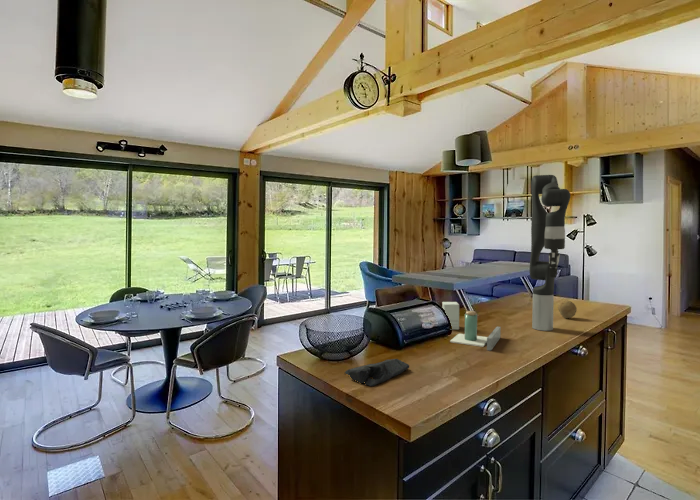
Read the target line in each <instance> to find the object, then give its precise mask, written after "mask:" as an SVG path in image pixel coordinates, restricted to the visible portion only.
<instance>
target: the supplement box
mask: <svg viewBox="0 0 700 500" xmlns="http://www.w3.org/2000/svg"><path fill="white" fill-rule="evenodd" d="M441 304H442V306H441V308H443V309H444V310H445V313H446V315H447V316H448V318H449V320H450V323H451V326H452V329H451V330H460V304H459V303H458V302H457V301H442V302H441Z"/></svg>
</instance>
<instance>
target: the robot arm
mask: <svg viewBox="0 0 700 500" xmlns="http://www.w3.org/2000/svg"><path fill="white" fill-rule="evenodd" d="M530 184H531V185H530V189H531V191H530V192H531V223H530V224H531V227H530V228H531V230H530V234H531V235H530V237H531V239H530V241H531V242H530V243H531V247H530V249H531V250H530V258H529V259H530V260H529V277H530V279H531V280H538V281H545V282H544V284H542V285H539V286H536V287H535V286H534V287H533V288H532V311H531V314H532V318H531V319H532V320H531V321H532V322H531V323H532V325H531V326H532V327H531V328H532V329H533V330H538V331H545V332H546V331H553V330H554V305H555V303H554V302H555V301H554V298H555V297H554V294H555V293H554V291H555V279H556V278H557V275H558V266H559V262H560V256H561V253H559V250H564V249H565V248H566V240H565V239H566V228H565V221H566V213H567V209H568V206H569V204H570V200H571V192H570V190H568V189H566V188H560V187H559V183H558V179H557V177H556V175H555V174H541V175H540V174H538V175H533V176H532V177H531V182H530ZM539 195H541V198H540V196H539ZM544 206H545V207H559V208H558V209H557V210H555V211H551V212H550V211H549V212H547V210H546V209H545V208H544ZM543 249H545V250H546V249H547V250H550V252H549V253H548V261H542V260H541V261H540V256H541V252H542V251H543Z"/></svg>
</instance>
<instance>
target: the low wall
mask: <svg viewBox="0 0 700 500" xmlns="http://www.w3.org/2000/svg"><path fill="white" fill-rule="evenodd" d="M501 330H502V329H501V326H495V328H494V329H493V331H491V332H490V334H489V335H488V336H486V337H487V343H486V351H489V352H491V351H492V350H493V349H494V347H495V346H496V344H497V343H498V342H499V340H500V339H501Z"/></svg>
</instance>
